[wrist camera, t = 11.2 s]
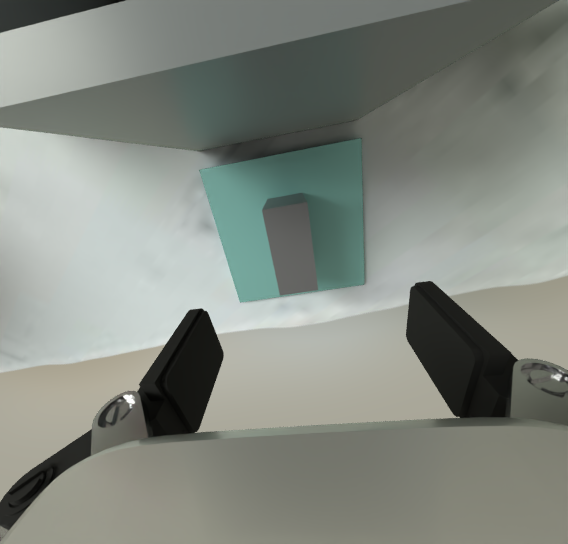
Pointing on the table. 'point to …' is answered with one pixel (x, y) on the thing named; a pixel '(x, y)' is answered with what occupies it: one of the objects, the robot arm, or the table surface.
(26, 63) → the bin
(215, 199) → the lid
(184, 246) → the table surface
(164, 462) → the robot arm
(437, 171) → the table surface
